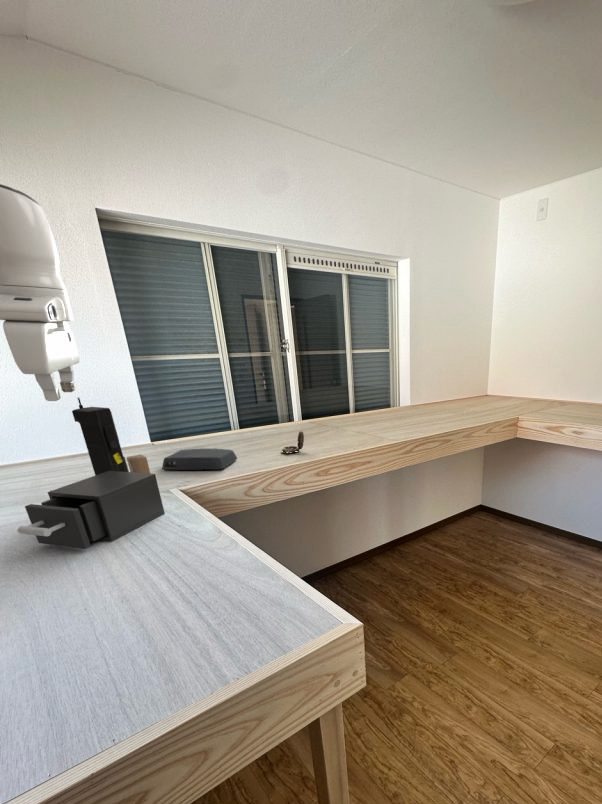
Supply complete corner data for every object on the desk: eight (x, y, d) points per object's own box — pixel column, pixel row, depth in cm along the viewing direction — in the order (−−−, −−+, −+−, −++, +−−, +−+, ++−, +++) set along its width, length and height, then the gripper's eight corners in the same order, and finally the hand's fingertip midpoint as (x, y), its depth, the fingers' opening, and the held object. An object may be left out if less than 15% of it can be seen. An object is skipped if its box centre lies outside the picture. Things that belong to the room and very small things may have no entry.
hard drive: (182, 459, 139) (180, 447, 137) (238, 459, 138) (237, 447, 136) (161, 471, 127) (158, 458, 125) (222, 471, 126) (220, 458, 124)
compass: (284, 449, 149) (281, 429, 146) (306, 449, 149) (304, 429, 146) (278, 455, 142) (275, 434, 139) (301, 455, 141) (298, 434, 138)
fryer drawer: (64, 560, 74) (50, 520, 71) (16, 553, 77) (0, 514, 74) (140, 520, 90) (131, 486, 87) (98, 516, 93) (88, 483, 90)
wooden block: (133, 484, 116) (125, 456, 112) (148, 481, 118) (141, 453, 115) (137, 487, 113) (130, 459, 110) (153, 484, 116) (146, 456, 112)
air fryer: (112, 541, 83) (98, 496, 79) (62, 535, 86) (47, 492, 82) (164, 513, 96) (155, 473, 92) (120, 509, 99) (109, 470, 95)
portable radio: (141, 497, 106) (115, 396, 96) (118, 505, 101) (88, 400, 91) (121, 493, 109) (93, 395, 99) (98, 501, 104) (67, 398, 94)
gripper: (36, 308, 75) (57, 387, 81) (-14, 305, 58) (18, 406, 63) (77, 310, 77) (95, 387, 83) (41, 308, 60) (67, 405, 66)
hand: (61, 395), depth 73 cm, fingers open, 8 cm apart
